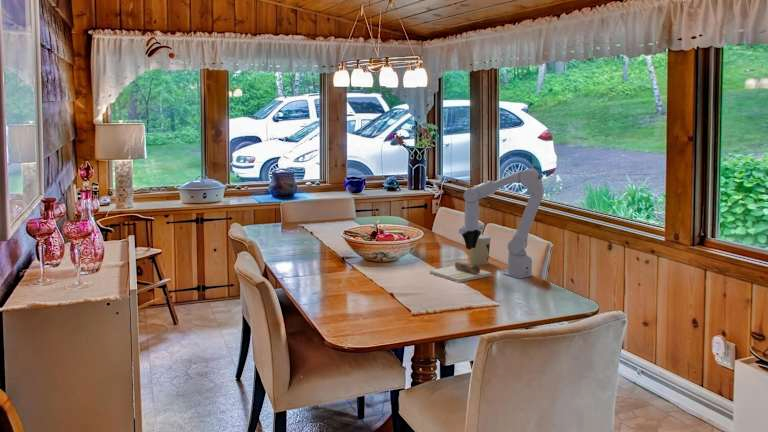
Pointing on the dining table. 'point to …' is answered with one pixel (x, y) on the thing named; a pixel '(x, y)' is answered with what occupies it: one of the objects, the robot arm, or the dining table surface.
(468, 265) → the bar
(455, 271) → the latch board
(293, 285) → the dining table surface
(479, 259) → the coffee cup
